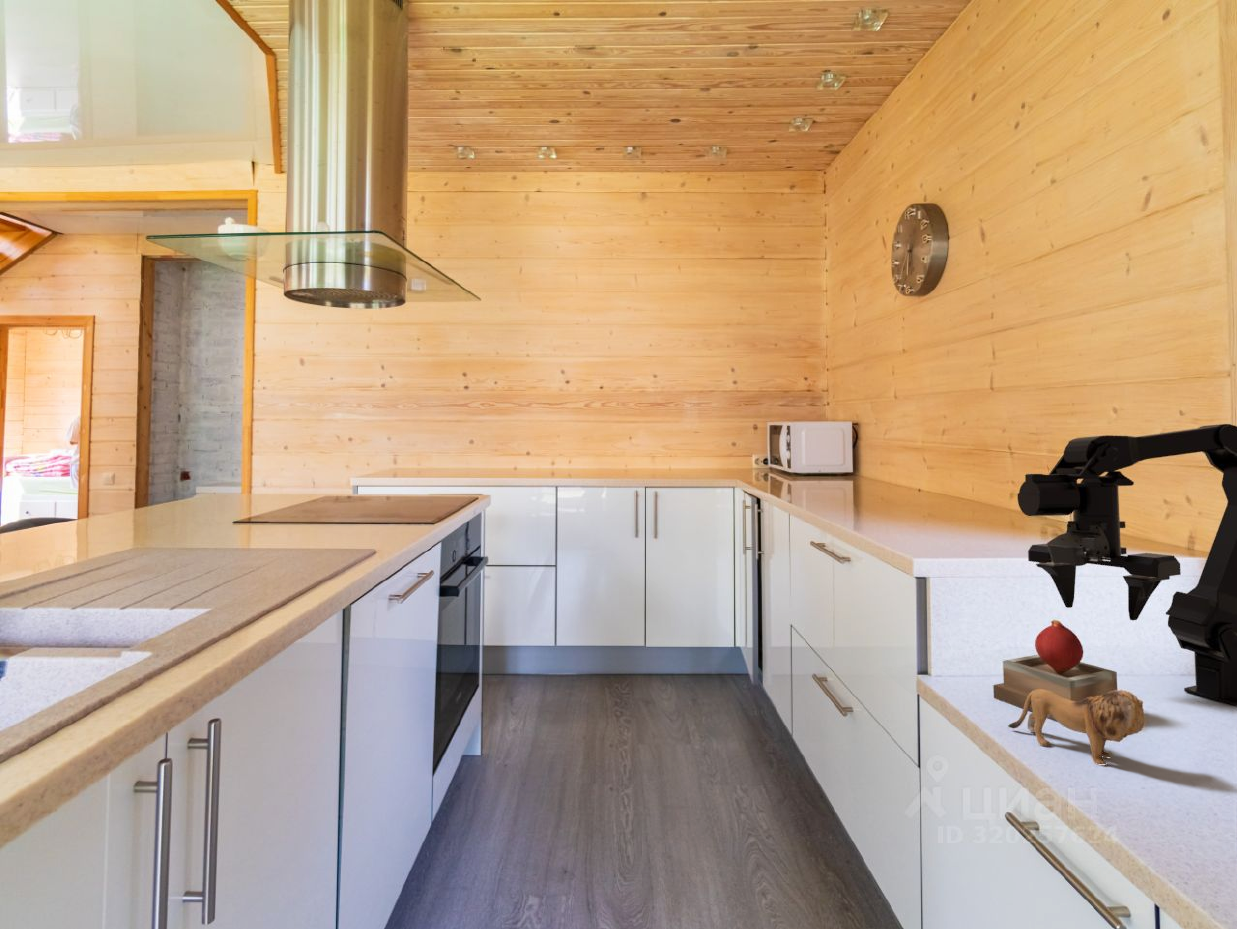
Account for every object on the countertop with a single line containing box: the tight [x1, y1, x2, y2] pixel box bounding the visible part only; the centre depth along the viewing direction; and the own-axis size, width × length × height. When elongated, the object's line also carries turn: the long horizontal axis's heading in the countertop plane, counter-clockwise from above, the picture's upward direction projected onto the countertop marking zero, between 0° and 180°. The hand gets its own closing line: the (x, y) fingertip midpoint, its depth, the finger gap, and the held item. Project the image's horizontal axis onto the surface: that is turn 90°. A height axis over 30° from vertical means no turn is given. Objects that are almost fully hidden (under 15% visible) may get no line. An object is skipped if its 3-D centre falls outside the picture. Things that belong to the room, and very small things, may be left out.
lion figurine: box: [1007, 689, 1147, 765], centre depth 75 cm, size 15×5×9 cm, turn 37°
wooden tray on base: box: [992, 654, 1118, 722], centre depth 89 cm, size 12×12×6 cm
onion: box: [1034, 619, 1084, 673], centre depth 89 cm, size 6×6×8 cm
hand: (1099, 613), depth 93 cm, fingers open, 9 cm apart
